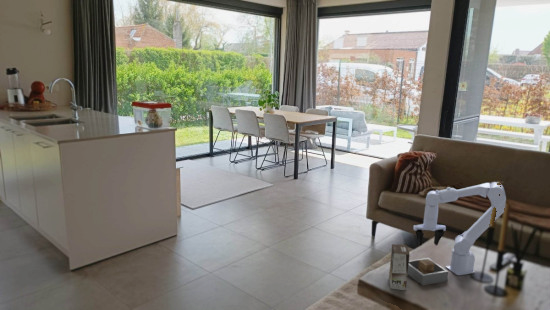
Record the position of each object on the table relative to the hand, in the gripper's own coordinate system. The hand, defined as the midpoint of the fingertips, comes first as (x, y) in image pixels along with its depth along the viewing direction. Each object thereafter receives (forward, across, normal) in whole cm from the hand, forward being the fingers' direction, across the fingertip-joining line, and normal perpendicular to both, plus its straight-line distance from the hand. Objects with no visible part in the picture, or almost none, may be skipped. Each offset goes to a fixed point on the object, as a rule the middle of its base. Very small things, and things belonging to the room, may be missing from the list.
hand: (427, 244), depth 184 cm
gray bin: (+9, -5, -11) cm, 16 cm away
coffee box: (+10, -20, -18) cm, 29 cm away
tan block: (+9, -5, -12) cm, 15 cm away
